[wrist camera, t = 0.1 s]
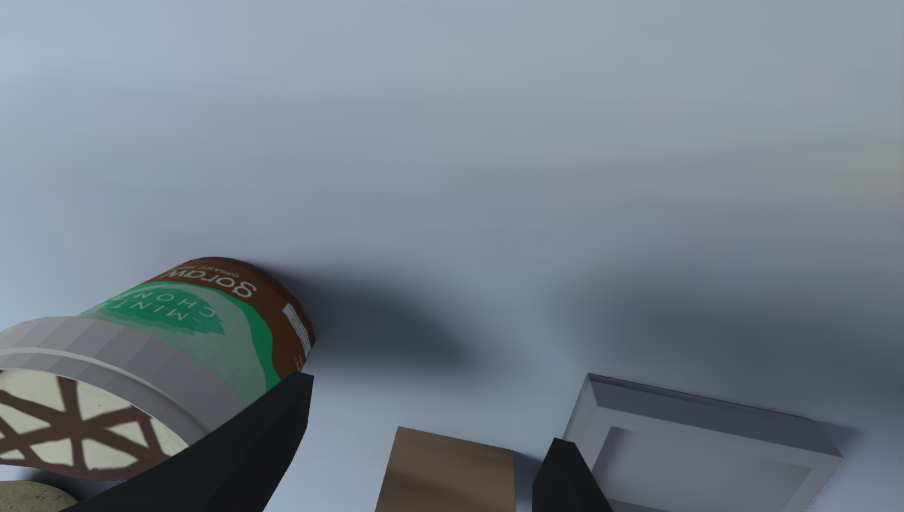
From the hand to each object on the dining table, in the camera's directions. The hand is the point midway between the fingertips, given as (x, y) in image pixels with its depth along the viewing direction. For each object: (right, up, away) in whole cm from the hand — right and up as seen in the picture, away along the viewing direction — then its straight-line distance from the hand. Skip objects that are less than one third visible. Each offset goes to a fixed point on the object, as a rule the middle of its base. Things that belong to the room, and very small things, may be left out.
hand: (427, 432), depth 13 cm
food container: (-12, +3, +11) cm, 16 cm away
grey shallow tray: (+13, -6, +12) cm, 19 cm away
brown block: (+1, -8, +14) cm, 16 cm away
